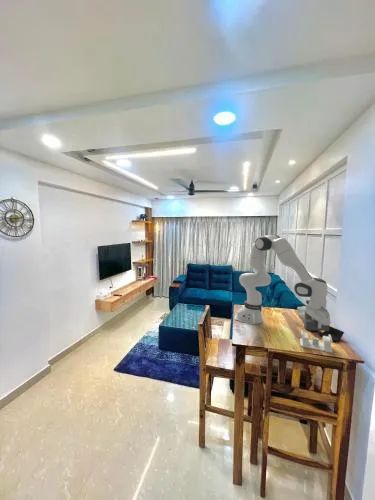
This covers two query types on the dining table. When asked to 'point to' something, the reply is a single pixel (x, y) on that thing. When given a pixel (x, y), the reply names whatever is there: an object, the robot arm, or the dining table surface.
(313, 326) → the tall charcoal prism
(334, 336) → the handheld gaming console
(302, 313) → the sculpture
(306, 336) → the display stand
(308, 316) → the pillar candle
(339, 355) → the dining table surface
